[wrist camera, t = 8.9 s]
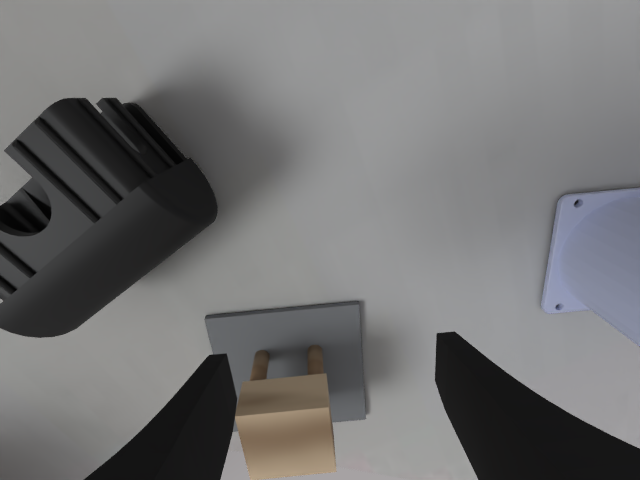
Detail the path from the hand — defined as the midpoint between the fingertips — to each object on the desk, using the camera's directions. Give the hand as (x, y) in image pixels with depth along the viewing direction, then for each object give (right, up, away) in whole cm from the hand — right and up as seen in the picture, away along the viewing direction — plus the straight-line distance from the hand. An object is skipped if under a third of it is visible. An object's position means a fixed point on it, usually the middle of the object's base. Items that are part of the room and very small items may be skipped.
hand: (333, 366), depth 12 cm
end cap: (-12, +7, +9) cm, 16 cm away
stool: (-2, -5, +13) cm, 14 cm away
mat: (-2, -5, +13) cm, 14 cm away
